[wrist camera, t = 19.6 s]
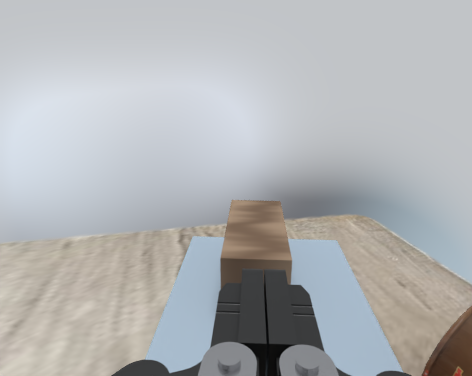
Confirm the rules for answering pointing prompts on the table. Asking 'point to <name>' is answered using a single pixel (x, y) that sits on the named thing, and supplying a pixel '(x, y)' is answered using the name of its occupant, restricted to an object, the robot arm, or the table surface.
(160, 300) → the table surface
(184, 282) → the mat
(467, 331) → the tin
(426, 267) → the table surface
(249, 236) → the walnut block
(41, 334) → the table surface
